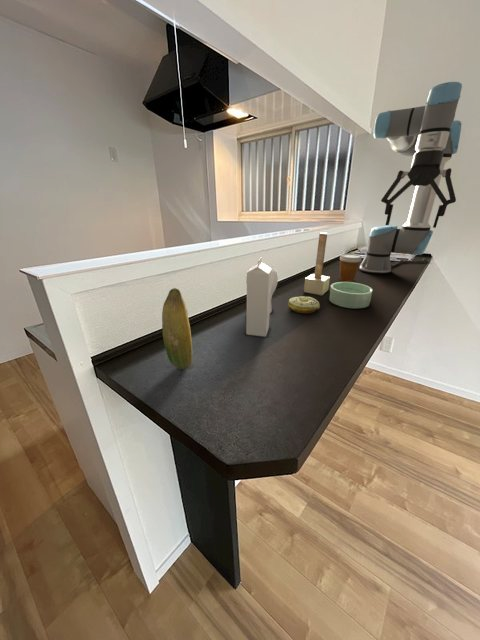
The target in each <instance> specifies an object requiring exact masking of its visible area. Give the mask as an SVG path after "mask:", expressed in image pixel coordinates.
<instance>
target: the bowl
mask: <svg viewBox="0 0 480 640" xmlns="http://www.w3.org/2000/svg"><path fill="white" fill-rule="evenodd" d="M373 291H374V290H373V287H371V286H369V285H366V284H363V283H360V282H355V281H353V282H342V281H338V282H333V283H331V285H330V290H329V295H328V300H329V301H330V303H331V304H333V305H335V306H338V307H341V308H347V309H364V308H367V307H369V306H370V305H371V300H372V296H373Z"/></svg>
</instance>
